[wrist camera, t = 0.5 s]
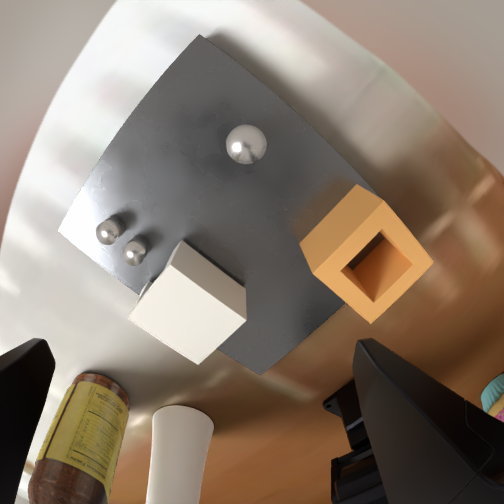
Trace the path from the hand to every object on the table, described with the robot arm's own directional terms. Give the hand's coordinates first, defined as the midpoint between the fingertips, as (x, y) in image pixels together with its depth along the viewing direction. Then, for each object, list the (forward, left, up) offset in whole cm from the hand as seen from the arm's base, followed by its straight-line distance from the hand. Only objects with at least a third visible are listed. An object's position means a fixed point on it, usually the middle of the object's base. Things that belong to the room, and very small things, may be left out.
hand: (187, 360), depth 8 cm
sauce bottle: (-2, +20, -13) cm, 24 cm away
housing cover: (-2, +4, -11) cm, 12 cm away
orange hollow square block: (-7, -5, -12) cm, 14 cm away
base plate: (-1, 0, -13) cm, 13 cm away
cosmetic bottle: (-10, +18, -13) cm, 24 cm away
